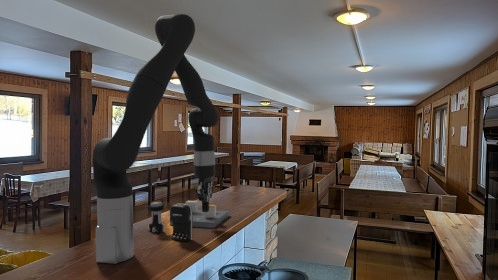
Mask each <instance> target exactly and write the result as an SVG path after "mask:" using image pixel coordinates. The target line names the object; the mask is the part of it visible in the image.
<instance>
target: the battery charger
mask: <svg viewBox="0 0 498 280" xmlns="http://www.w3.org/2000/svg"><path fill="white" fill-rule="evenodd" d="M170 221H172V222H173V225H172V235H171V239H172V240H174V241H178V242H189V241H192V240H193V227H192V224H193V214H192V207H191V206H190V205H188V204H186V203H175V204H173V205H171V206H170V209H169V222H170Z"/></svg>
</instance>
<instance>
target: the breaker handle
mask: <svg viewBox="0 0 498 280" xmlns="http://www.w3.org/2000/svg"><path fill="white" fill-rule="evenodd" d="M216 210H217V205H216V204H209V211H208V212H204V217H212V218H214V217H216Z"/></svg>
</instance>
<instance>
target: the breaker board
mask: <svg viewBox="0 0 498 280" xmlns="http://www.w3.org/2000/svg"><path fill="white" fill-rule="evenodd" d="M198 201H199V200H186V201H185V204H188V205H190V206H191V207H192V214H193V224H192V228H208V229H215V228H216V227H217V226H219V225H220V224H221V223H222V222H223V221H224V220H226V219H227V218H228V217H229V216H230V211H229V210H217V209H216V217H214V218H212V217H204V212H202V208H201V209H198V208H199V207H198V203H199V202H198ZM169 226H173V222H172V221H170V220H169Z"/></svg>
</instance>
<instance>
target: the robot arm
mask: <svg viewBox="0 0 498 280" xmlns="http://www.w3.org/2000/svg"><path fill="white" fill-rule="evenodd" d="M154 32H155V35H156V38H157V40H158V43H159V44H160V46H161V48H160V49H159V50H158V52H156V54H154V55H153V56H152V57H151V58H150V59H149V60H148V61H146V63H144V65H143V66H141V67H140V69H139V70H138V71H137V72H136V74H135V77H134V78H133V80H132V82H131V84H130V87H129V89H128V90H127V94H126V100H125V109H124V113H123V117H122V119H121V122H120V123H119V126H118V127H117V129H116V131H115V132H114V134H113V135H112V137H105V138H102V139H100V140H99V141H97V143H96V144H95V145H94V148H93V151H92V173H93V184H94V188H95V191H96V205H97V206H96V207H97V208H96V210H97V214H96V217H97V226H96V227H95V259H96V260H95V261H96V263H105V264H116V265H117V264H118V263H121V262H125V261H128V260H130V259H132V258H133V257H134V256H135V248H134V247H135V246H134V204H133V202H134V201H133V198H134V197H133V185H132V183H131V182H130V181H129V177H128V175H127V171H128V170H129V169H130V168H131V167H132V166H133V164H134V163H135V161H136V159H137V157H138V154H139V150H140V149H141V146H142V143H143V140H144V138H145V137H144V136H145V135H146V131H147V130H148V127H149V125H150V123H151V121H152V119H153V117H154V115H155V112H156V110H157V109H158V106H159V105H160V103H161V101H162V98H163V96H164V95H165V92H166V90H167V87H168V85H169V82H170V81H171V79H172V77H173V75H174V73H175V74H176V76H177V79H178V80H179V83H180V85H181V87H182V91H183V93H184V97H185V99H186V101H187V104H188V105H190V106H194V107H193V108H192V109H190V111H189V113H188V117H187V118H188V124H189V127H190V130H191V134H192V137H193V144H194V145H193V146H194V147H193V148H194V149H193V151H194V154H193V175H194V177H195V178H197V179H198V182H197V188H196V187H195V189H194V191H195V194H196V196H197V198H198V201H199V202H201V210H202V212H208V211H209V205H210V201H211V199H212V197H213V192H214V190H215V189H214V188H215V183H214V182H213V179H212V178H214V177H215V176H216V155H215V154H216V153H215V138H214V136H213V135H212V134H210V133H206V132H205V131H204V129H203V128H213V127H215V126H217V124H218V122H219V113H218V110H217V108H216V107H215V105H214V104H213V102H212V100H211V99H210V97H209V96H208V94H207V92H206V89H205V86H204V83H203V80H202V78H201V76H200V74H199V72H198V71H197V70H196V68H195V67H194V66H193V65H192V64H191V62H190V61H189V59H188V58H187V56H186V54H185V53H186V52H187V50H188V48H189V47H190V45H191V43H192V42H193V40H194V37H195V33H196V27H195V22H194V19H193V18H192V17H191V16H190V15H188V14H184V13H174V14H173V13H172V14H166V15H161V16H159V17H158V18H157V20H156V21H155V24H154Z"/></svg>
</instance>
